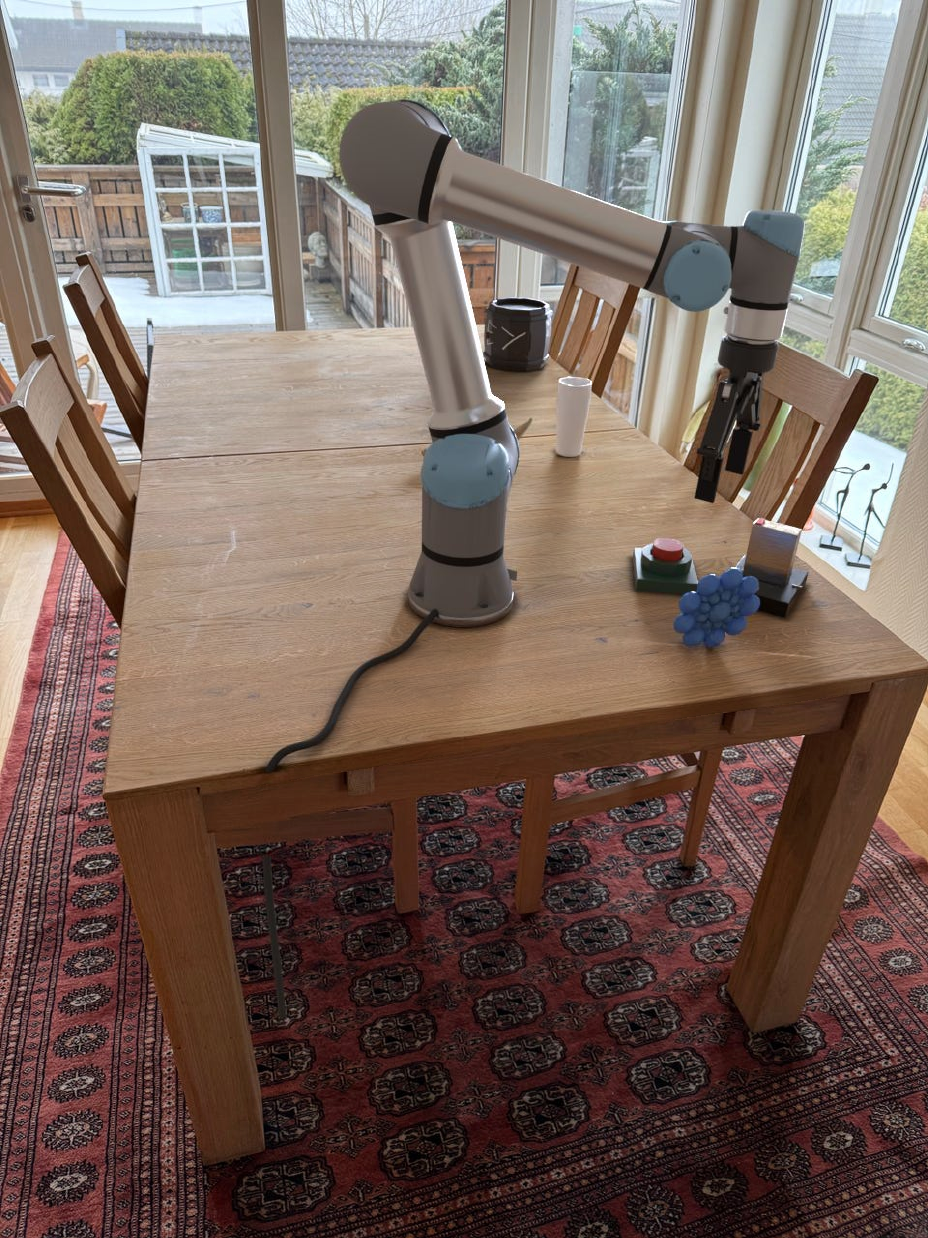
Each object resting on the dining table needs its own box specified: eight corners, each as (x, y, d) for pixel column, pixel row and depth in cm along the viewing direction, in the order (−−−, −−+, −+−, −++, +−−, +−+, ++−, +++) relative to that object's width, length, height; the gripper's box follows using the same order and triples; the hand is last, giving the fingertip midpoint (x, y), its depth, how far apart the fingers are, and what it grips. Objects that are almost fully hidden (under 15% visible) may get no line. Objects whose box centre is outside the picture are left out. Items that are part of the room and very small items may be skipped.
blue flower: (737, 628, 130) (753, 552, 124) (757, 654, 124) (775, 575, 118) (658, 632, 128) (671, 555, 122) (675, 658, 122) (689, 579, 116)
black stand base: (787, 619, 132) (791, 603, 131) (715, 598, 137) (718, 582, 136) (807, 586, 141) (811, 571, 140) (739, 568, 146) (742, 553, 145)
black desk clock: (472, 356, 252) (474, 297, 244) (533, 353, 257) (537, 295, 249) (493, 374, 237) (496, 311, 229) (557, 370, 242) (562, 309, 234)
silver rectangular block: (789, 580, 137) (802, 527, 133) (784, 587, 136) (797, 533, 131) (747, 568, 140) (758, 516, 136) (741, 575, 138) (753, 522, 134)
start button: (682, 563, 139) (685, 552, 138) (652, 561, 139) (654, 549, 138) (680, 550, 143) (682, 539, 142) (650, 548, 143) (652, 536, 142)
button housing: (695, 595, 138) (700, 572, 136) (635, 590, 138) (639, 567, 136) (688, 562, 147) (692, 540, 145) (632, 558, 148) (635, 535, 146)
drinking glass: (546, 455, 187) (552, 382, 180) (559, 445, 192) (565, 374, 185) (577, 461, 185) (584, 388, 177) (589, 451, 190) (597, 380, 182)
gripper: (750, 317, 133) (721, 455, 144) (692, 349, 115) (664, 505, 125) (802, 326, 130) (769, 466, 141) (751, 361, 111) (717, 520, 122)
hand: (719, 485), depth 133 cm, fingers open, 13 cm apart
